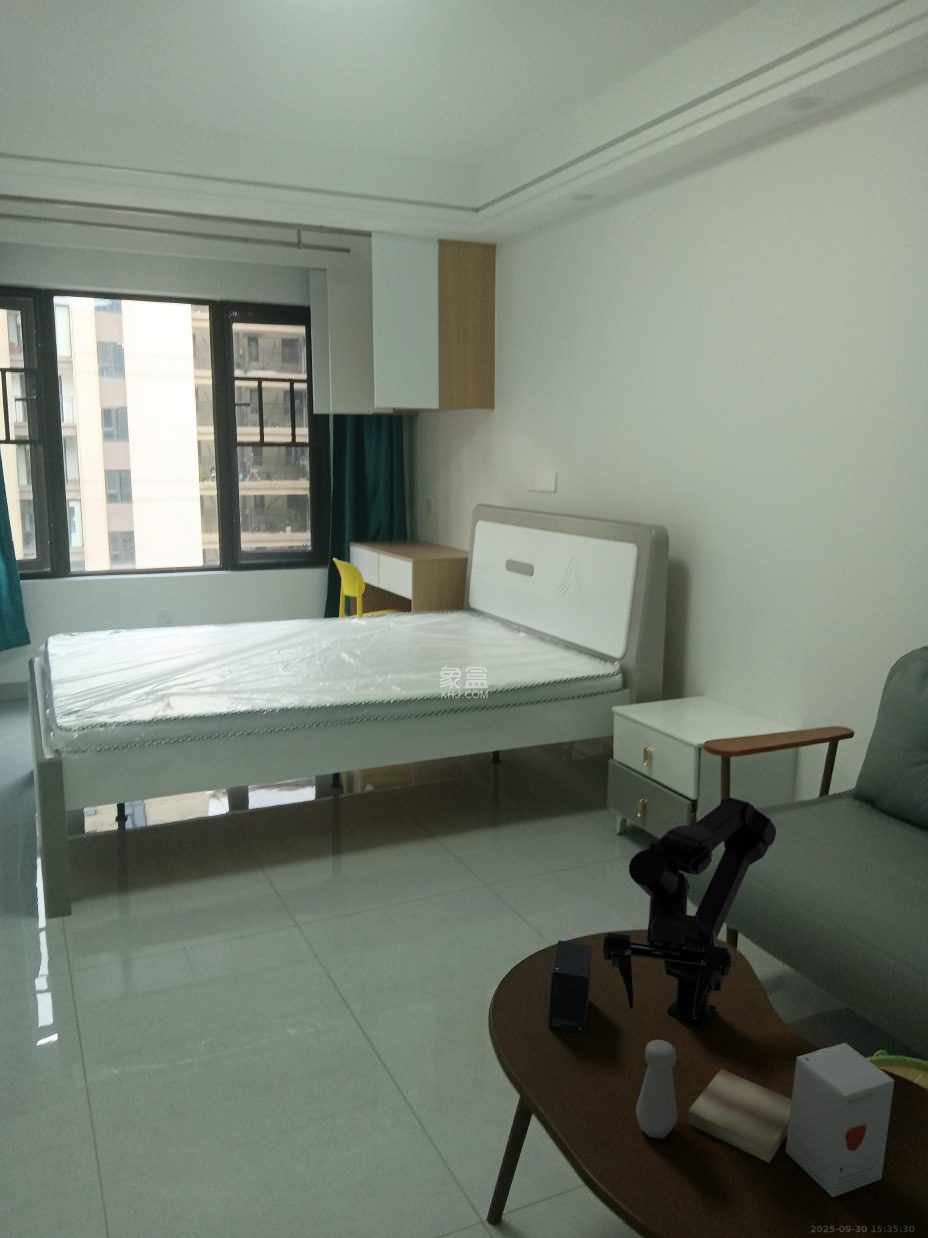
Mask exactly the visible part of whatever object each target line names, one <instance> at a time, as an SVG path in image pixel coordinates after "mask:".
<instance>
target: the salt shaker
mask: <svg viewBox="0 0 928 1238" xmlns="http://www.w3.org/2000/svg"><path fill="white" fill-rule="evenodd" d="M644 1057H645V1060H646V1061H645V1062H646V1063H647V1064H648V1066H647V1069H646V1072H645V1076H644V1079H643V1083H642V1086H641V1090H640V1092H639V1096H638V1100H637V1103H636V1107H635V1113H636V1119H637V1121H638V1125H639V1127H640V1130H641V1131H642V1132H643V1133H645V1134H646V1135H647V1136H648V1137H649V1138H651V1139H653V1138H655V1139H665V1138H666V1137H667V1135H668V1134H670V1133H671V1131H672V1130H673V1128H674V1127H675V1126H676V1124H677V1122H678V1119H679V1118H678V1109H677V1107H678V1106H677V1101H676V1093H675V1085H674V1084H675V1083H674V1076H673V1069H672V1068H674V1065H675V1064H676V1062H677V1050H676V1047H674V1046H673V1045H672V1043H670V1042H668V1041H667V1040H662V1039H653V1040H651V1041H649V1042H648V1043H647V1045H645V1050H644Z"/></svg>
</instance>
